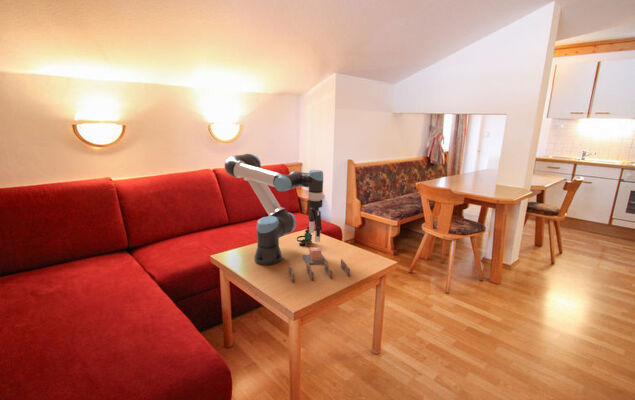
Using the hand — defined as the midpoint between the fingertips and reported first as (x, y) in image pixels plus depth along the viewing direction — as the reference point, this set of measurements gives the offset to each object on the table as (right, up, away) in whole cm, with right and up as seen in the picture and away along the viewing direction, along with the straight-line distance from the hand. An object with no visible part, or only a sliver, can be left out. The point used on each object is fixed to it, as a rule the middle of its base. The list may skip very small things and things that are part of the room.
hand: (314, 237), depth 174 cm
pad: (0, -13, +3) cm, 13 cm away
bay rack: (+2, -17, -14) cm, 22 cm away
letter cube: (0, -12, +3) cm, 12 cm away
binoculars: (-7, -8, +25) cm, 27 cm away
